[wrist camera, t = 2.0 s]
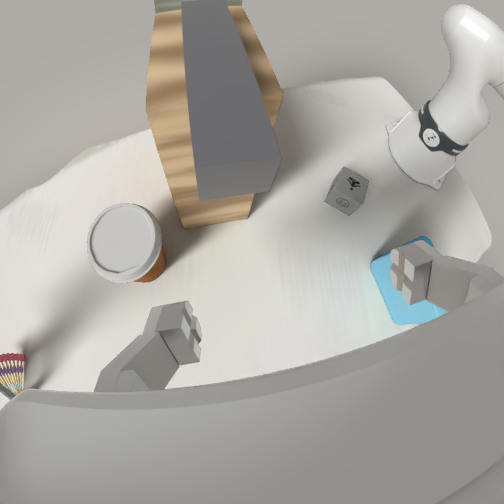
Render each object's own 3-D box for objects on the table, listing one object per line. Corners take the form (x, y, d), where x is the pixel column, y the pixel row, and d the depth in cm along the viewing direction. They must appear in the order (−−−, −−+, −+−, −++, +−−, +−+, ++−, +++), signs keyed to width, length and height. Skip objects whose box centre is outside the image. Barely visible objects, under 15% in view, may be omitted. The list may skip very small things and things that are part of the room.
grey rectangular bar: (269, 191, 16) (282, 158, 12) (199, 201, 15) (194, 168, 12) (222, 25, 20) (224, -2, 17) (182, 29, 19) (181, 2, 16)
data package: (410, 313, 42) (457, 307, 31) (393, 325, 41) (440, 322, 30) (385, 253, 44) (427, 232, 33) (367, 263, 43) (409, 244, 32)
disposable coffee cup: (111, 286, 38) (74, 271, 26) (125, 227, 40) (97, 194, 29) (169, 299, 38) (148, 289, 27) (181, 237, 41) (169, 205, 29)
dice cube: (356, 193, 47) (369, 181, 42) (349, 215, 45) (362, 204, 40) (333, 180, 47) (344, 166, 42) (324, 201, 45) (335, 188, 41)
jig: (247, 218, 43) (296, 54, 14) (183, 228, 41) (134, 66, 12) (227, 125, 47) (243, -24, 18) (174, 132, 45) (153, -17, 16)
